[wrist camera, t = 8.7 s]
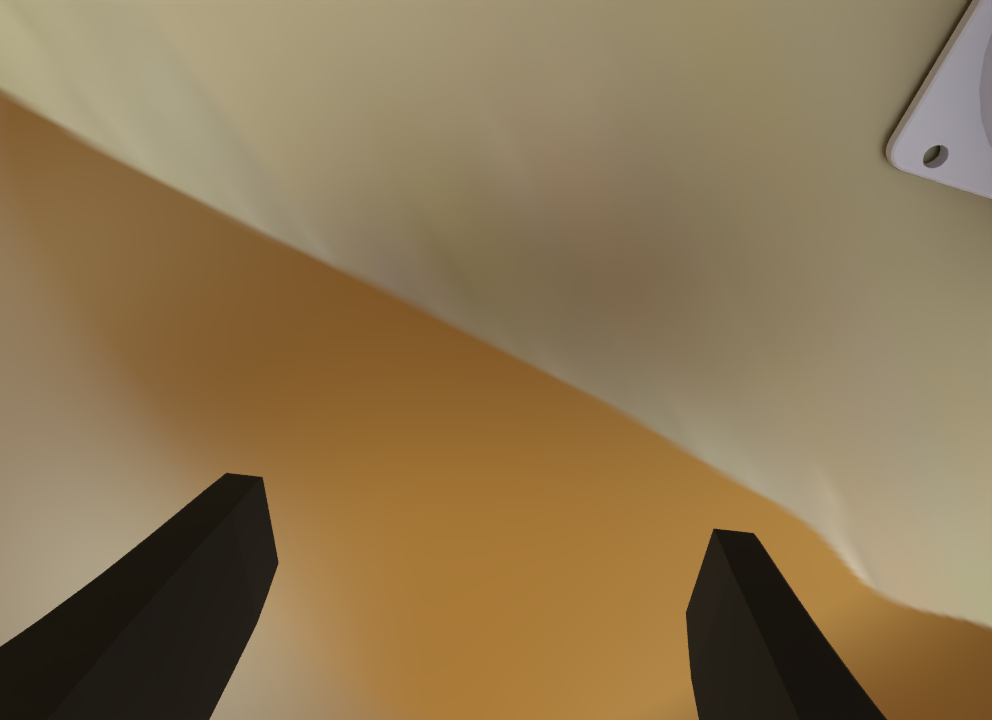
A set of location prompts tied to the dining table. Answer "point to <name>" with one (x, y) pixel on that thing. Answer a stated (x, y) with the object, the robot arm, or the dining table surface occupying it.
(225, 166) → the dining table surface
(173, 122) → the dining table surface
